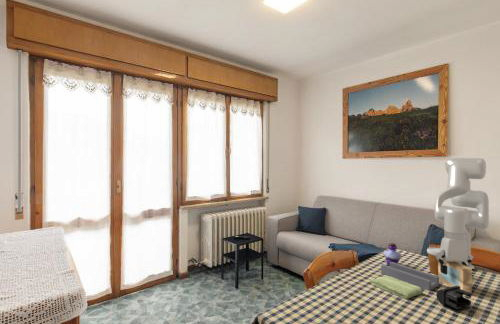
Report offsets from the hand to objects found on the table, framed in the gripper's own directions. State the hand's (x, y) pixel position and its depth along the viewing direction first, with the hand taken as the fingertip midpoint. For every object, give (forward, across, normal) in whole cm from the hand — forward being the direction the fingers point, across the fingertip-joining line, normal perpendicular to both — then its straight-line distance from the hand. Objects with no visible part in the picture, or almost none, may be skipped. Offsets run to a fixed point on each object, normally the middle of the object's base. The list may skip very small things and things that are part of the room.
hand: (454, 273), depth 120 cm
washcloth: (+7, +28, +1) cm, 29 cm away
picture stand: (+6, +16, -8) cm, 19 cm away
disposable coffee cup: (+6, -4, -16) cm, 17 cm away
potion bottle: (+6, +13, -26) cm, 30 cm away
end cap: (+7, +14, +16) cm, 22 cm away
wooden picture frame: (+6, 0, 0) cm, 6 cm away
